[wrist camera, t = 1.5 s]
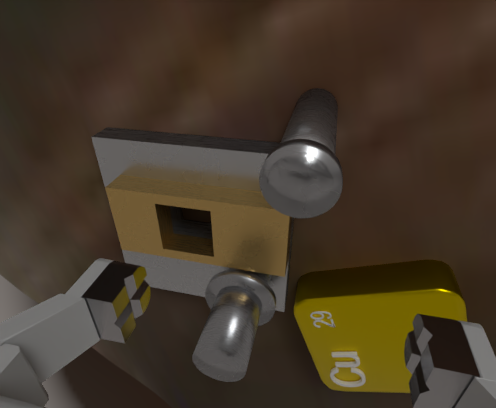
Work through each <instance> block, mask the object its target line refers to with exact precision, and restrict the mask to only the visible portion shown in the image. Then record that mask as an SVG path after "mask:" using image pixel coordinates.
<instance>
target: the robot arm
mask: <svg viewBox="0 0 496 408" xmlns="http://www.w3.org/2000/svg"><path fill="white" fill-rule="evenodd" d="M146 276H147V273H146V269H145V267H143V266H139V265H134V264H129V263H124V262H119V261H113V260H108V259H103V258H100V259H98V260H96V261H95V262H94V263H93V264H92V265H91V266H90V267H89V268H88V269H87V270H86V272H85V273H84V274H83V275H82V276H81V277H80V278H79V279H78V280H77V282H76V283H75V284H74V285H73V286H72V287H71V288H70V289H69V290H68V291H67V293H66V294H59V295H57V296H55V297H53V298H51V299H48V300H46V301H44V302H42V303H40V304H38V305H36V306H34V307H32V308H30V309H28V310H26V311H24V312H21V313H20V314H17V315H15V316H13V317H11V318H9V319H7V320H5V321H3V322H1V323H0V408H45V407H44V406H45V404H46V403H47V401H48V400H49V399H48V394H47V392H46V390H45V389H44V387H43V385H42V384H41V383H42V382H43V381H45V380H46V379H48V378H49V377H50V376H52V375H53V374H54V373H56V372H57V371H58V370H60V369H61V368H63V367H64V366H65V365H67V364H68V363H69V362H71V361H72V360H73V359H75V358H76V357H77V356H79V355H80V354H82V353H83V352H84V351H86V350H87V349H88V348H90V347H91V346H93V345H94V344H95V343H97V342H98V341H99V340H100V339H105V340H111V341H116V342H121V343H126V341H127V339H128V338H129V336H130V334H131V333H132V331H133V329H134V328H135V326H136V322H135V318H137V317H139V316H140V315H142V314H143V313H144V311H145V310H146V308H147V306H148V303H149V299H150V286H149V284H148V283H147V282H146V281H145V280H144V279H145V277H146ZM412 323H413V328H414V330H413V331H411V332H409V333H408V335H407V337H406V340H405V348H404V357H405V364H406V368H407V369H408V370H409V371H410V373H411V374H412V376H411V379H410V381H409V388H410V393H411V399H412V404H413V408H496V357H495V355H494V352H493V350H492V348H491V345H490V343H489V341H488V338H487V336H486V334H485V331H484V329H483V327H482V326H481V325H480V324H477V323H471V322H465V321H459V320H458V321H457V320H454V319H448V318H441V317H435V316H429V315H423V314H417V315H416V316H415V318H414V320H413V322H412Z"/></svg>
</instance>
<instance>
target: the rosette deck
mask: <svg viewBox="0 0 496 408" xmlns="http://www.w3.org/2000/svg"><path fill="white" fill-rule="evenodd" d="M92 141H93V145H94V148H95V152H96V156H97V159H98V163H99V167H100V171H101V174H102V178H103V182H104V185H105V189H106V193H107V196H108V200H109V204H110V207H111V211H112V215H113V219H114V222H115V226H116V230H117V233H118V237H119V241H120V244H121V248H122V252H123V255H124V259H125V263H129V264H134V265H139V266H143V267H145V269H146V273H147V276H146V277H145V279H144V280H145V281H146V282H147V283H148V284H149V286H150V287H154V288H160V289H165V290H170V291H176V292H181V293H186V294H191V295H197V296H202V297H205V298H206V301H207V304H208V305H209V307H210V308H211V312H210V314H209V317H208V319H207V321H206V324H205V326H204V329H203V331H202V334H201V336H200V338H199V341H198V343H197V346H196V348H195V351H194V353H193V356H192V359H193V362H194V364H195V366H196V367H197V368H198V369H199V370H200V371H201V372H202V373H204V374H205V375H207V376H209V377H211V378H213V379H216V380H220V381H225V382H234V381H238V380H241V379H242V378H243V377H244V376H245V374H246V370H247V366H248V362H249V358H250V354H251V350H252V346H253V342H254V339H255V335H256V331H257V327H258V326H260V325H263V324H265V323H267V322H268V321H270V320H271V318H272V317H273V315H274V313H275V310H276V311H281V312H284V311H285V305H286V300H287V293H288V282H289V270H290V259H291V247H292V235H293V224H294V217H290V216H287V215H284V214H282V213H280V212H278V211H277V210H275V209H274V208H273V207H272V206H271V205H270V204H269V203H268V202H267V201H266V200H265V198H264V196H263V194H262V192H261V189H260V185H259V175H260V171H261V168H262V166H263V164H264V161H265V159H266V157H267V156H268V154H269V153H270V152H271V151H272V150H273V149H274V148H275V147H276V146H278V145H279V144H280V143H276V142H265V141H254V140H242V139H231V138H220V137H209V136H197V135H186V134H175V133H164V132H152V131H141V130H130V129H119V128H105V129H104V130H102V131H100V132H99V133H97V134H95V135H94V136H92ZM182 207H183V208H190V209H198V210H205V211H210V212H211V223H204V222H197V221H190V220H183V215H182Z"/></svg>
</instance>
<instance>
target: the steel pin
mask: <svg viewBox="0 0 496 408" xmlns="http://www.w3.org/2000/svg"><path fill="white" fill-rule="evenodd" d="M337 114H338V105H337V101H336V99H335V97H334V96H333V95H332V94H331V93H330V92H329V91H327V90H325V89H320V88H315V89H310V90H308V91H306V92H305V93H303V94H302V95H301V96H300V98H299V99H298V101H297V104H296V106H295V109H294V111H293V114H292V116H291V119H290V121H289V123H288V126H287V128H286V131H285V133H284V136H283V138H282V141H281V143H280V144H279V145H278V146H276V147H275V148H274V149H273V150H272V151H271V152H270V153H269V154H268V156H267V157H266V159H265V161H264V164H263V166H262V168H261V171H260V175H259V185H260V189H261V192H262V194H263V196H264V198H265V200H266V201H267V202H268V203H269V204H270V205H271V206H272V207H273V208H274V209H275V210H277V211H278V212H280V213H282V214H284V215H287V216H290V217H295V218H311V217H315V216H318V215H321V214H323V213H325V212H326V211H328V210H329V209H330V208H332V207H333V206H334V204H335V203H336V202H337V200H338V199H339V197H340V194H341V191H342V183H343V175H342V168H341V165H340V162H339V160H338V158H337V157H336V155H335V150H336V132H337Z"/></svg>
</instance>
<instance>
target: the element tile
mask: <svg viewBox="0 0 496 408" xmlns="http://www.w3.org/2000/svg"><path fill="white" fill-rule="evenodd" d="M293 311H294V316H295V318H296V321H297V323H298V326H299V328H300V330H301V333H302V335H303V337H304V340H305V342H306V344H307V347H308V349H309V352H310V354H311V356H312V359H313V361H314V363H315V366H316V368H317V371H318V373H319V375H320V378H321V380H322V381H323V383H324V384H326V385H327V386H328V387H329V388H330V389H332V390H339V391H356V392H392V393H410V388H409V381H410V379H411V376H412V374H411V373H410V371H409V370H408V369H407V368H406V364H405V357H404V348H405V340H406V337H407V335H408V333H409V332H411V331H413V330H414V328H413V323H412V322H413V320H414V318H415V316H416V315H417V314H423V315H429V316H435V317H441V318H448V319H454V320H457V321H458V320H459V321H465V322H467V316H466V305H465V302H464V299H463V296H462V294H461V291H460V289H459V286H458V283H457V281H456V278H455V275H454V273H453V270H452V269H451V268H450V266H449V265H448V264H446V263H444V262H442V261H437V260H419V261H409V262H400V263H391V264H382V265H373V266H363V267H354V268H345V269H336V270H327V271H317V272H310V273H307V274H305V275H303V276H301V277H300V278H299V280H298V284H297V290H296V297H295V303H294V309H293Z"/></svg>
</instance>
